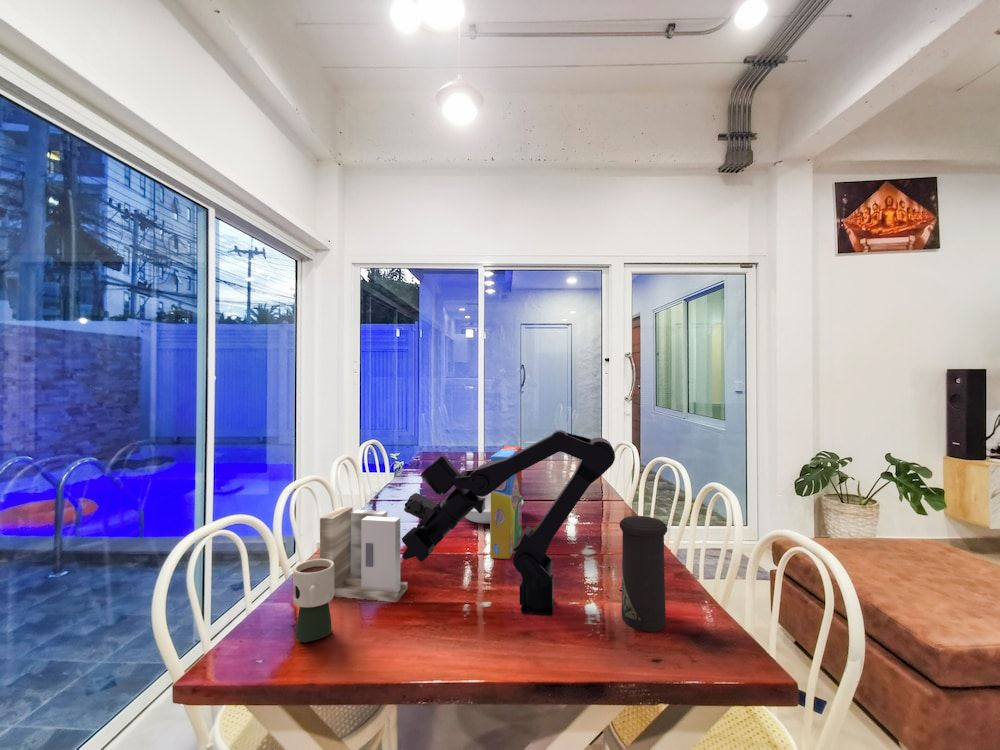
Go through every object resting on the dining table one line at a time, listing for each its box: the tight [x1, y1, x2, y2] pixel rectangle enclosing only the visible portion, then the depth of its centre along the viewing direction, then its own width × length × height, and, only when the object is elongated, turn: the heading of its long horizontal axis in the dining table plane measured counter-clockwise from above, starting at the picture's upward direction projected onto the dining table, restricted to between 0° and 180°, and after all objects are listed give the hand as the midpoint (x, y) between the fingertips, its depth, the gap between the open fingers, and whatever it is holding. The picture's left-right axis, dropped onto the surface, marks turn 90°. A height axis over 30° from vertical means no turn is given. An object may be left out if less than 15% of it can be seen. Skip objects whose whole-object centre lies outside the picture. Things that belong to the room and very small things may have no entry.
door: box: [361, 516, 401, 593], centre depth 102 cm, size 8×3×16 cm, turn 80°
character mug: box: [292, 558, 335, 643], centre depth 85 cm, size 11×7×13 cm, turn 20°
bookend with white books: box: [319, 506, 409, 603], centre depth 104 cm, size 18×10×17 cm, turn 80°
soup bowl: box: [464, 493, 524, 525], centre depth 155 cm, size 24×24×7 cm
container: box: [619, 515, 668, 632], centre depth 90 cm, size 9×9×20 cm
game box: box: [489, 445, 523, 560], centre depth 131 cm, size 21×6×27 cm, turn 168°
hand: (403, 557), depth 101 cm, fingers closed
